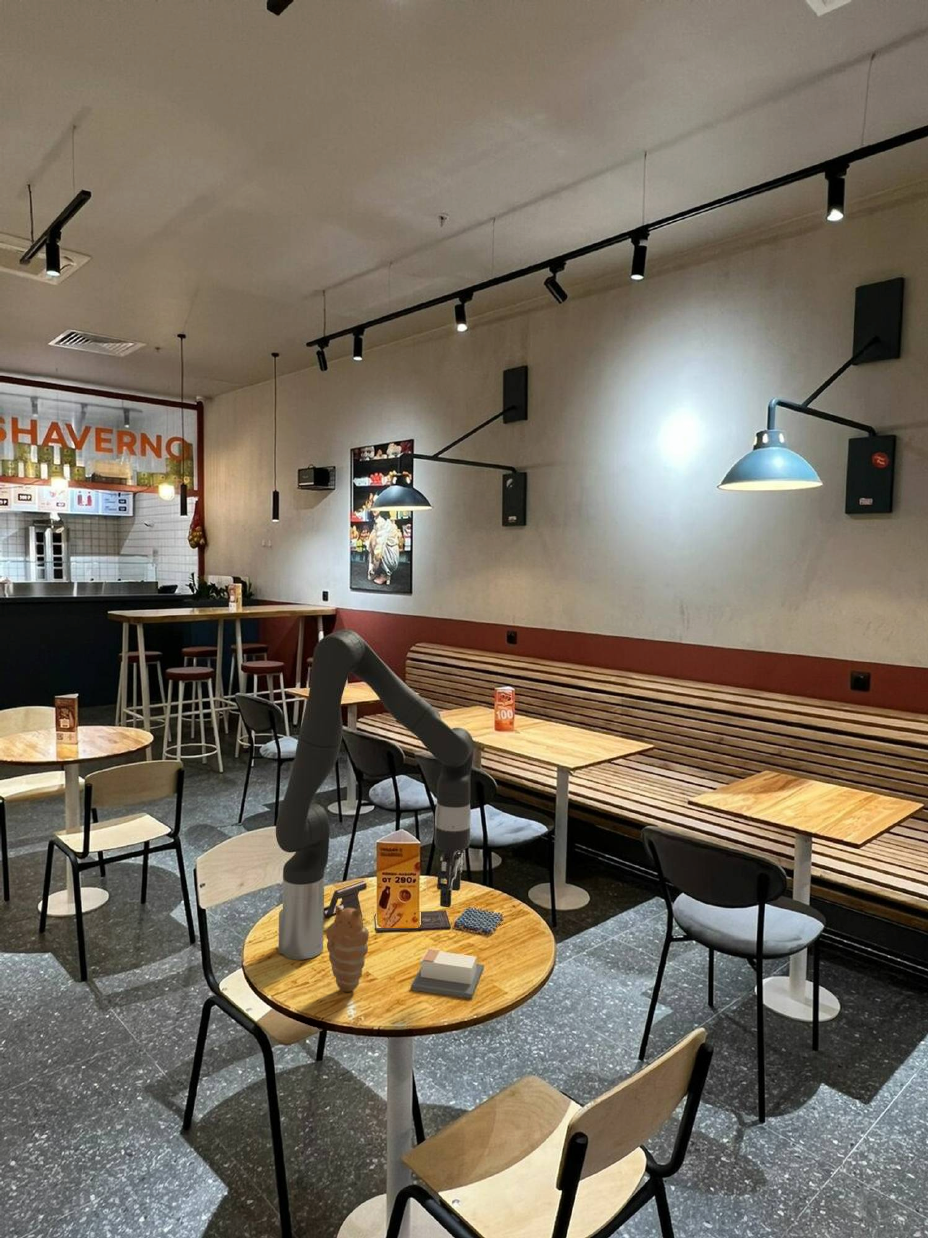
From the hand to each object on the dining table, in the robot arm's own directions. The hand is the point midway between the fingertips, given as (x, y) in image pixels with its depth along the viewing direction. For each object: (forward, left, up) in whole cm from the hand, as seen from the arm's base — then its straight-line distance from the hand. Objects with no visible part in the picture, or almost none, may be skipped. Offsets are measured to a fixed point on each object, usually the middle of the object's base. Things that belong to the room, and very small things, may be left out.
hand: (450, 898), depth 163 cm
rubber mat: (0, 0, -18) cm, 18 cm away
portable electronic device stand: (-32, +22, -18) cm, 43 cm away
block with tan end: (0, 0, -17) cm, 17 cm away
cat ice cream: (-19, -10, -18) cm, 28 cm away
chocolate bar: (-15, +23, -19) cm, 33 cm away
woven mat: (+1, +27, -19) cm, 33 cm away
